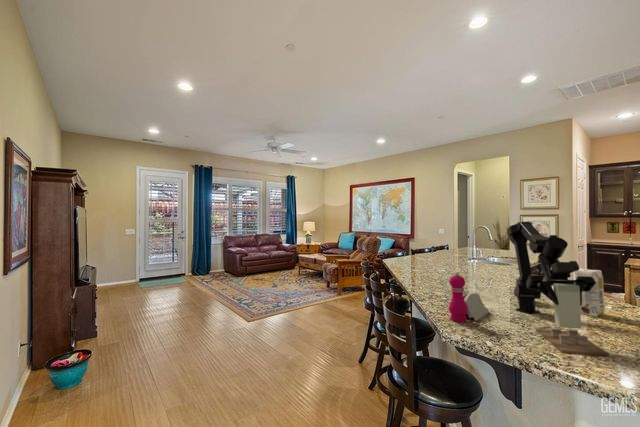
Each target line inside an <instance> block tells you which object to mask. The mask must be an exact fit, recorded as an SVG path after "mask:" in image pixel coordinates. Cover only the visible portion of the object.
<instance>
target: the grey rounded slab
mask: <svg viewBox="0 0 640 427" xmlns="http://www.w3.org/2000/svg"><path fill="white" fill-rule="evenodd" d="M463 298H464V301H465V303H466V305H467V308H468V313H467V314H466V315H465V316H467V319H468V318H469V319H471V318H473V319H474V321H475V322H477V321H478V320H480V319H481V318H483V317H484V316H486V315H487V314H488V313H489V312H490V311H489V309H488V307H486V306H484V303H483V301H482V299H481V297H480V295H479V294H478V293H477V292H476V293H474V292H472V293H466V294H463Z"/></svg>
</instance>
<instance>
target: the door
mask: <svg viewBox="0 0 640 427" xmlns="http://www.w3.org/2000/svg"><path fill="white" fill-rule="evenodd" d="M552 287H553V291H554V293H555V295H556V297H557V299H558V302H559V304H558V305H556V304H555V303H554V302H553V304H554V305H553V308H554V325H556V326H557V327H559V328H563V329H565V328H567V329H576V330H577V329H579V330H581V329H582V314H581V310H580V287H579V286H578V285H575V284H558V283H553V285H552Z"/></svg>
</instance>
